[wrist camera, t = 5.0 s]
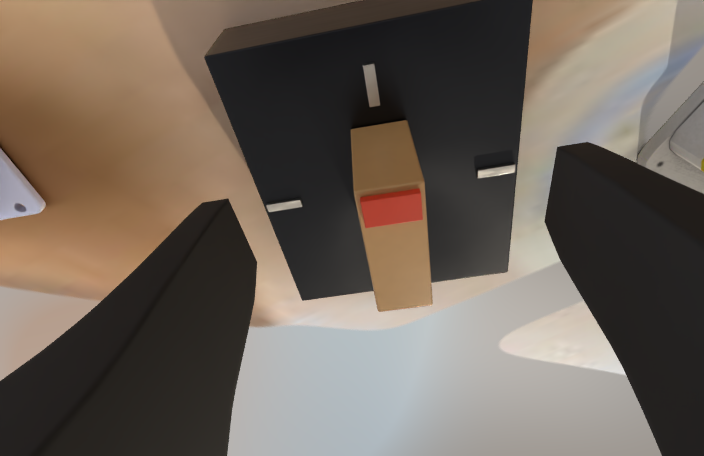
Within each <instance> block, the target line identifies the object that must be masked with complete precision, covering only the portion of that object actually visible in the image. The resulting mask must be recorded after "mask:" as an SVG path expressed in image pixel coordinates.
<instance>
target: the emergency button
mask: <svg viewBox="0 0 704 456" xmlns="http://www.w3.org/2000/svg"><path fill="white" fill-rule="evenodd" d="M637 164H639V165H642V166H644V167H646V168H648V169H650V170H652V171H654V172H657V173H659V174H661V175H663V176H665V177H667V178H670V179H672V180H674V181H676V182H678V183H681V184H683V185H685V186H687V187H690V188H692V189H694V190H696V191H699V192H701V193H703V194H704V82H703V83H702V84H701V85H700V86H699V87H698V88H697V89H696V90H695V91H694V92H693V93H692V95H691V96H690V97H689V98H688V99H687V100H686V101H685V102H684V103H683V104H682V105H681V107H680V108H679V109H678V110H677V111H676V112H675V113H674V114H673V115H672V116H671V117H670V119H669V120H668V121H667V122H666V123H665V124H664V125H663V126H662V127H661V128H660V130H658V131H657V133H656V134H655V135H654V136H653V137H652V138H651V139H650V140H649V141H648V142H647V143H646V144H645V146H644V147H643V149H642V150H641V152H640V153H639V155H638V159H637Z"/></svg>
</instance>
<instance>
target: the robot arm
mask: <svg viewBox="0 0 704 456" xmlns="http://www.w3.org/2000/svg"><path fill="white" fill-rule="evenodd" d="M21 204H22V205H24V206H22V205H21ZM45 206H46V204H45V202H44V200H43V199H42V197H41V196H40V195H39V194H38V193H37V191H36V190H35V189H34V188H33V187H32V185H31V184H30V183H29V182H28V181H27V179H26V178H25V177H24V176H23V175H22V173H21V172H20V171H19V170H18V169H17V167H16V166H15V165H14V164H13V163H12V161H11V160H10V159H9V158H8V157H7V155H6V154H5V153H4V152H3V151H2V149H1V148H0V220H3V219H9V218H15V217H21V216H27V215H33V214H38V213H40V212H41V211H42V210H43V209H44V208H45ZM545 223H546V226H547V229H548V231H549V234H550V236H551V239H552V241H553V244H554V246H555V248H556V251H557V253H558V255H559V258H560V260H561V262H562V263H563V265H564V267H565V269H566V270H567V272H568V274H569V276H570V277H571V279H572V281H573V282H574V284H575V286H576V288H577V289H578V291H579V293H580V294H581V296H582V297H583V299H584V301H585V303H586V304H587V306H588V308H589V309H590V311H591V313H592V314H593V316H594V318H595V319H596V321H597V323H598V324H599V326H600V328H601V329H602V331H603V333H604V334H605V336H606V338H607V339H608V341H609V343H610V344H611V346H612V348H613V350H614V352H615V354H616V355H617V357H618V359H619V361H620V363H621V365H622V367H623V369H624V371H625V373H626V375H627V377H628V380H629V382H630V384H631V386H632V388H633V390H634V393H635V395H636V397H637V399H638V401H639V403H640V406H641V408H642V410H643V412H644V414H645V417H646V419H647V421H648V424H649V426H650V428H651V431H652V433H653V435H654V438H655V440H656V442H657V445H658V447H659V449H660V452H661V454H662V456H704V194H703V193H701V192H699V191H696V190H694V189H692V188H690V187H687V186H685V185H683V184H681V183H678V182H676V181H674V180H672V179H670V178H667V177H665V176H663V175H661V174H659V173H657V172H654V171H652V170H650V169H648V168H646V167H644V166H642V165H639V164H637V163H635V162H633V161H631V160H629V159H627V158H624V157H622V156H620V155H618V154H616V153H613V152H611V151H609V150H607V149H604V148H602V147H599V146H597V145H594V144H592V143H589V142H585V143H579V144H572V145H566V146H560V147H557V152H556V158H555V164H554V169H553V175H552V181H551V187H550V193H549V199H548V204H547V210H546V216H545ZM256 272H257V261H256V259H255V257H254V254H253V252H252V250H251V248H250V246H249V243H248V241H247V239H246V237H245V235H244V232H243V230H242V228H241V226H240V224H239V221H238V219H237V217H236V215H235V213H234V210H233V208H232V206H231V204H230V202H229V199H223V200H217V201H211V202H204V203H202V204H201V205H199V206H198V207H197V208H196V209H195V210H194V211H193V212H192V213H191V214H190V215H189V216H188V217H187V218H186V219H185V220H184V221H183V222H182V223H181V224H180V225H179V226H178V227H177V228H176V229H175V230H174V231H173V232H172V233H171V234H170V235H169V236H168V237H167V238H166V239H165V240H164V241H163V242H162V243H161V244H160V245H159V246H158V247H157V248H156V249H155V250H154V251H153V252H152V253H151V254H150V255H149V256H148V257H147V258H146V259H145V260H144V261H143V262H142V263H141V264H140V265H139V266H138V267H137V268H136V269H135V270H134V271H133V272H132V273H131V274H130V275H129V276H128V277H127V278H126V279H125V280H124V281H123V282H121V283H120V284H119V285H118V286H117V287H116V288H115V289H114V290H113V291H112V292H111V293H110V294H109V295H108V296H107V297H106V298H104V299H103V300H102V301H101V302H100V303H99V304H98V305H97V306H96V307H95V308H93V309H92V310H91V311H90V312H89V313H88V314H87V315H85V316H84V317H83V318H82V319H81V320H80V321H78V322H77V323H76V324H75V325H74V326H72V327H71V328H70V329H69V330H68V331H66V332H65V333H64V334H63V335H61V336H60V337H59V338H57V339H56V340H55V341H54V342H53V343H51V344H50V345H49V346H47V347H46V348H45V349H44V350H42V351H41V352H40V353H38V354H37V355H36V356H34V357H33V358H32V359H30V360H29V361H27V362H26V363H25V364H24V365H22V366H21V367H19V368H18V369H17V370H15V371H14V372H12V373H11V374H9V375H8V376H7V377H5V378H4V379H3V380H1V381H0V456H227V451H228V442H229V432H230V423H231V414H232V407H233V401H234V395H235V389H236V384H237V380H238V375H239V371H240V366H241V361H242V357H243V352H244V348H245V343H246V338H247V334H248V329H249V324H250V320H251V315H252V310H253V305H254V299H255V287H256Z"/></svg>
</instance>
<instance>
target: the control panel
mask: <svg viewBox="0 0 704 456" xmlns="http://www.w3.org/2000/svg"><path fill="white" fill-rule="evenodd" d="M532 2H533V0H363V1H358V2H353V3H348V4H343V5H339V6H334V7H329V8H324V9H319V10H315V11H310V12H305V13H300V14H295V15H291V16H286V17H281V18H276V19H271V20H266V21H262V22H257V23H252V24H247V25H242V26H238V27H233V28H228V29H224V30H223V32H222V33H221V34H220V36H219V37H218V39H217V40H216V41H215V43H214V44H213V46H212V47H211V48H210V50H209V51H208V52H207V54H206V55H205V60H206V63H207V65H208V68H209V70H210V73H211V75H212V78H213V80H214V83H215V85H216V88H217V90H218V93H219V95H220V98H221V100H222V102H223V105H224V107H225V110H226V112H227V115H228V117H229V120H230V122H231V125H232V127H233V130H234V132H235V135H236V137H237V140H238V142H239V145H240V147H241V150H242V152H243V155H244V157H245V160H246V162H247V164H248V167H249V169H250V172H251V174H252V177H253V179H254V182H255V184H256V187H257V189H258V192H259V194H260V197H261V199H262V202H263V204H264V207H265V209H266V212H267V214H268V217H269V219H270V221H271V224H272V226H273V229H274V231H275V234H276V236H277V239H278V241H279V244H280V246H281V249H282V251H283V254H284V256H285V259H286V261H287V264H288V266H289V269H290V271H291V274H292V276H293V279H294V281H295V283H296V286H297V288H298V291H299V293H300V296H301V298H302V300H303V301H304V300H311V299H318V298H325V297H332V296H340V295H347V294H354V293H361V292H368V291H374V289H373V284H372V280H371V275H370V270H369V265H368V260H367V255H366V250H365V245H364V241H363V236H362V231H361V226H360V221H359V216H358V211H357V206H356V201H355V197H354V189H353V169H352V149H351V129H356V128H362V127H368V126H374V125H379V124H385V123H391V122H397V121H403V120H407V121H408V125H409V128H410V132H411V135H412V139H413V142H414V146H415V150H416V153H417V157H418V160H419V164H420V167H421V171H422V174H423V178H424V182H425V196H426V211H427V226H428V242H429V257H430V272H431V283H433V282H440V281H447V280H454V279H462V278H469V277H476V276H483V275H490V274H497V273H505V272H508V262H509V251H510V240H511V229H512V218H513V208H514V197H515V186H516V175H517V164H518V153H519V143H520V132H521V121H522V110H523V99H524V88H525V78H526V67H527V56H528V45H529V34H530V24H531V13H532Z"/></svg>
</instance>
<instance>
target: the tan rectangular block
mask: <svg viewBox="0 0 704 456" xmlns="http://www.w3.org/2000/svg"><path fill="white" fill-rule="evenodd" d="M351 149H352V169H353V189H354V197H355V201H356V206H357V211H358V216H359V221H360V226H361V231H362V236H363V241H364V245H365V250H366V255H367V260H368V265H369V270H370V275H371V280H372V284H373V289H374V294H375V299H376V304H377V309H378V311H379V312H382V311H389V310H397V309H405V308H413V307H421V306H429V305H432V303H433V302H432V287H431V272H430V257H429V242H428V226H427V211H426V196H425V182H424V178H423V174H422V171H421V167H420V164H419V160H418V157H417V153H416V150H415V146H414V142H413V139H412V135H411V132H410V128H409V125H408V121H407V120H403V121H397V122H391V123H385V124H379V125H374V126H368V127H362V128H356V129H351Z"/></svg>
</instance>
